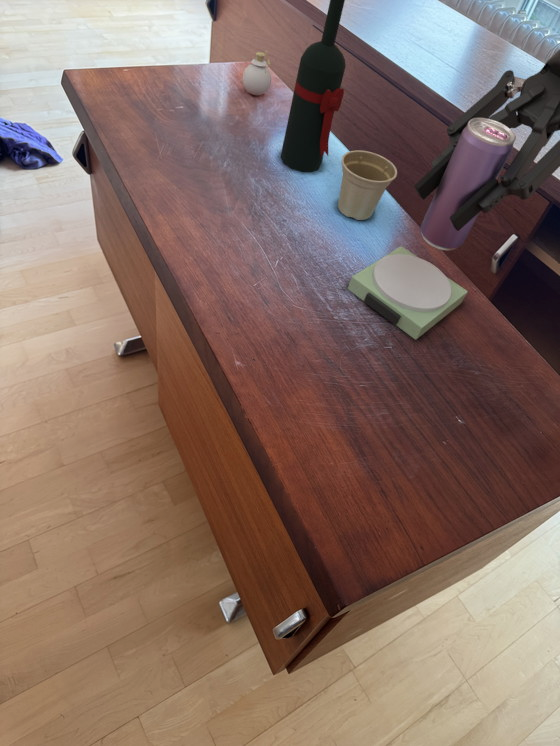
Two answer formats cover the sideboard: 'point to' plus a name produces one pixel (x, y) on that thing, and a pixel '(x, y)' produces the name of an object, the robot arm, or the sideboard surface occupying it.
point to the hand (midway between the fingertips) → (436, 208)
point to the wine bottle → (315, 98)
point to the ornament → (257, 76)
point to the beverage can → (466, 179)
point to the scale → (407, 291)
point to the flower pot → (363, 182)
